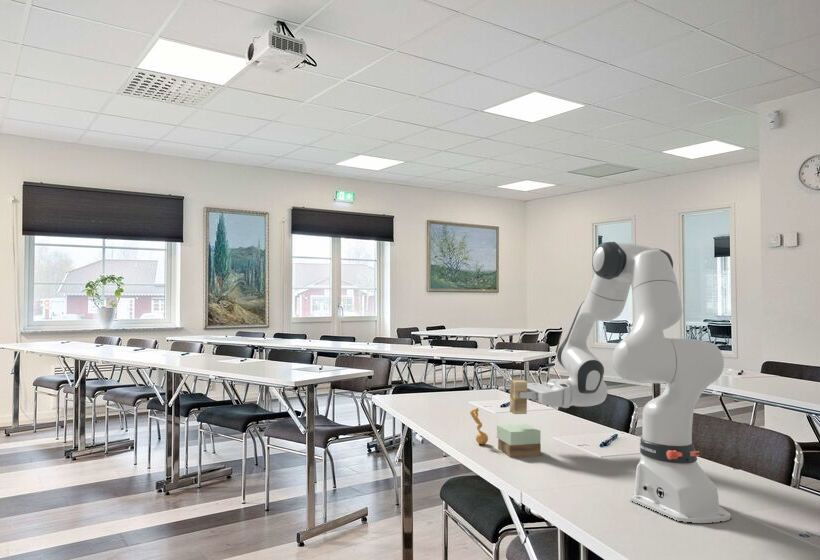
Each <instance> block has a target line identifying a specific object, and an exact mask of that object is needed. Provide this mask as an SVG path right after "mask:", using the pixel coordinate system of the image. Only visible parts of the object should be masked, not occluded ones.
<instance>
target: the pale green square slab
mask: <svg viewBox="0 0 820 560" xmlns="http://www.w3.org/2000/svg"><path fill="white" fill-rule="evenodd" d="M496 438H497V439H500V440H502V441H504V442H505V443H507V444H509V445H526V444H541V429H538V428H537V427H534V426H532V425H529V424H526V423H513V424H497V425H496Z"/></svg>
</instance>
